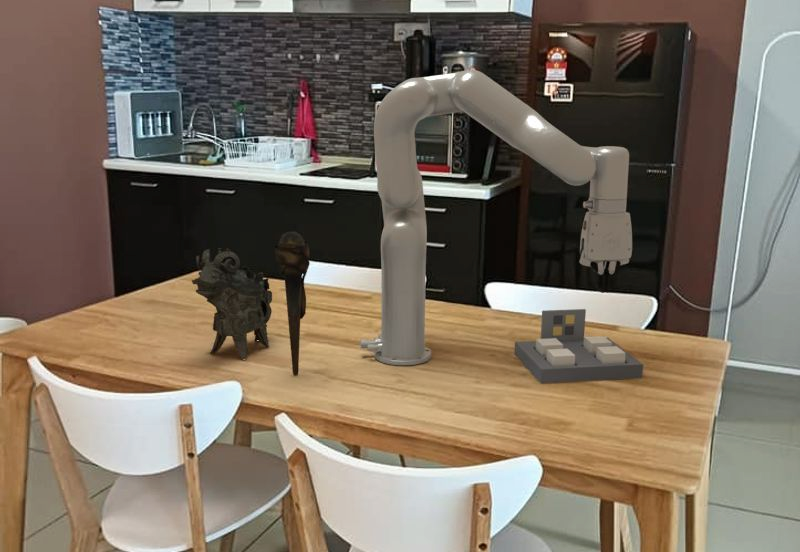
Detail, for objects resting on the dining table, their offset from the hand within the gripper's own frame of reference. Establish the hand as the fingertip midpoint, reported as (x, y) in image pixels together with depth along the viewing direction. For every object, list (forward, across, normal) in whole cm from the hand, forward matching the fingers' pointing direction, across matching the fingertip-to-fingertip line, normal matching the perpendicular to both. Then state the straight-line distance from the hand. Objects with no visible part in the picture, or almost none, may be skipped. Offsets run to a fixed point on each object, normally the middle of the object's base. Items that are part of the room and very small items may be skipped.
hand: (602, 290), depth 178 cm
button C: (+13, -11, 0) cm, 18 cm away
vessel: (+15, -78, +18) cm, 82 cm away
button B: (+13, 0, -7) cm, 15 cm away
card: (+13, -6, +7) cm, 16 cm away
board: (+16, -6, -2) cm, 17 cm away
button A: (+13, -11, -7) cm, 19 cm away
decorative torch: (+15, -66, +1) cm, 68 cm away
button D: (+13, 0, 0) cm, 13 cm away
